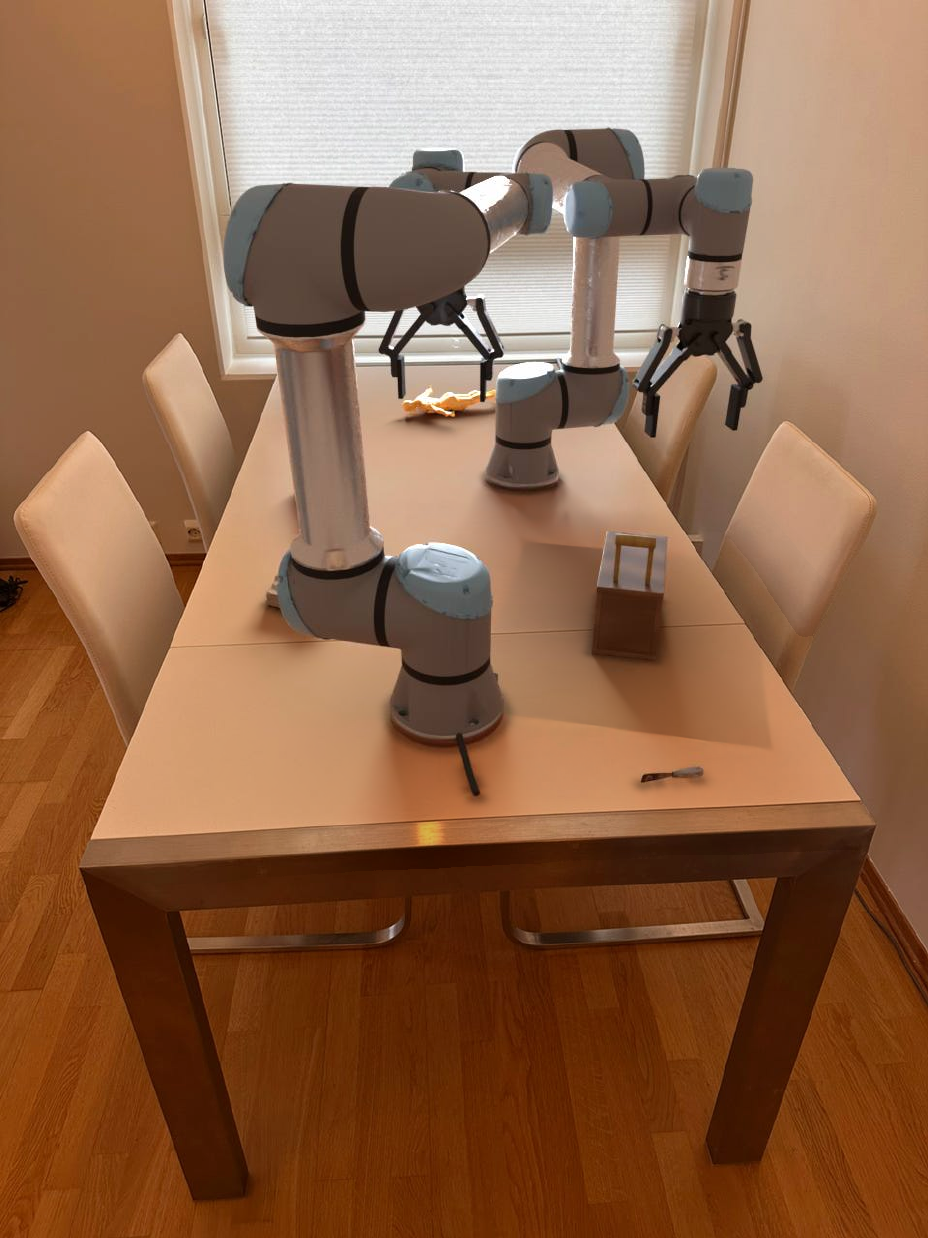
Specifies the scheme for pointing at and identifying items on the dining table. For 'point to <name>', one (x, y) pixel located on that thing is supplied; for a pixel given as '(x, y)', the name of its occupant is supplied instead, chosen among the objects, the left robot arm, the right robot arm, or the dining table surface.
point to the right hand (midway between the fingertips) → (690, 431)
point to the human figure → (445, 402)
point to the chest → (626, 626)
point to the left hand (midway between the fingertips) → (442, 398)
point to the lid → (633, 565)
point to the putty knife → (674, 774)
